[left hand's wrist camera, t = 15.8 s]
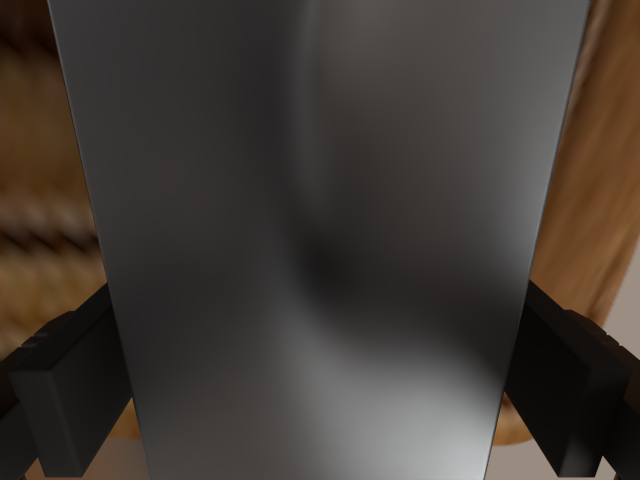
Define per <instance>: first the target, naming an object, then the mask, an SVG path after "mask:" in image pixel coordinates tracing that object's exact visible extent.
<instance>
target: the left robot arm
mask: <svg viewBox="0 0 640 480" xmlns="http://www.w3.org/2000/svg"><path fill="white" fill-rule="evenodd" d="M504 391H505V393H506V394H507V396H508V397H509V399H510V401H511V402H512V404H513V405H514V407H515V409H516V410H517V412H518V414H519V415H520V417H521V418H522V420H523V422H524V423H525V425H526V426H527V428H528V430H529V431H530V433H531V434H532V436H533V438H534V439H535V441H536V442H537V444H538V446H539V447H540V449H541V450H542V452H543V454H544V455H545V457H546V458H547V460H548V462H549V463H550V465H551V467H552V468H553V470H554V471H555V473H556V475H557V476H558V477H595V475H596V472H597V470H598V467H599V464H600V461H601V458H602V456H604V458H605V459H606V460H607V462H608V463H609V464H610V465H611V467H612V468H613V469H614V470H615V472H616V475H615V477H614V480H640V360H639V359H637V358H636V357H635V356H634V355H633V354H632V353H630V352H629V351H628V350H627V349H626V348H624V347H623V346H619V343H618V342H617V341H616V340H615V339H613V338H612V337H611V336H610V335H607V334H606V332H605V331H604V330H603V329H601V328H600V327H599V326H598V325H597V324H595V323H594V322H593V321H592V320H590V319H588V318H586V317H584V316H582V315H580V314H579V313H577V312H575V311H573V310H564V309H563V308H561V307H560V306H559V305H558V304H557V303H556V302H555V301H553V300H552V299H551V298H550V297H549V296H548V295H547V294H546V293H544V292H543V291H542V290H541V289H540V288H539V287H538V286H536V285H535V284H534V283H533V282H532V281H531V280H530V279H529V282H528V287H527V291H526V296H525V300H524V305H523V309H522V314H521V318H520V323H519V327H518V332H517V336H516V341H515V345H514V350H513V354H512V359H511V363H510V368H509V372H508V377H507V381H506V386H505V390H504ZM131 397H132V394H131V389H130V384H129V380H128V375H127V370H126V366H125V361H124V357H123V352H122V347H121V343H120V338H119V333H118V329H117V324H116V320H115V315H114V310H113V306H112V301H111V297H110V292H109V287H108V283H106V284H105V285H104V286H102V287H101V288H100V289H99V290H98V291H97V292H96V293H94V294H93V295H92V296H91V297H90V298H89V299H88V300H87V301H85V302H84V303H83V304H82V305H81V306H80V307H79V308H77V309H76V310H75V311H68V312H66V313H64V314H63V315H61V316H59V317H57V318H55V319H53V320H51V321H49V322H48V323H47V324H45V325H44V326H43V327H42V328H41V329H39V330H38V331H37V332H36V333H35V334H34V337H30V338H29V339H28V340H26V341H25V342H24V343H23V344H22V346H21V347H18V348H17V349H16V350H14V351H13V352H12V353H11V354H10V355H8V356H7V357H6V358H5V359H4V360H2V361H1V362H0V480H26V477H25V475H24V474H25V473H26V471H27V470H28V469H29V468H30V466H31V465H32V464H33V462H34V461H35V460H36V459H37V457H38V458H39V461H40V464H41V467H42V470H43V472H44V475H45V477H82V476H83V475H84V473H85V471H86V470H87V468H88V467H89V465H90V463H91V462H92V460H93V459H94V457H95V455H96V454H97V452H98V450H99V449H100V447H101V446H102V444H103V442H104V441H105V439H106V438H107V436H108V434H109V433H110V431H111V430H112V428H113V426H114V425H115V423H116V422H117V420H118V418H119V417H120V415H121V414H122V412H123V410H124V409H125V407H126V405H127V404H128V402H129V401H130V399H131Z"/></svg>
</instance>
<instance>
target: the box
mask: <svg viewBox="0 0 640 480" xmlns="http://www.w3.org/2000/svg"><path fill="white" fill-rule="evenodd" d="M46 1H47V6H48V10H49V15H50V19H51V24H52V29H53V33H54V38H55V43H56V47H57V52H58V56H59V61H60V66H61V70H62V75H63V79H64V84H65V89H66V93H67V98H68V103H69V107H70V112H71V116H72V121H73V126H74V130H75V135H76V140H77V144H78V149H79V153H80V158H81V163H82V167H83V172H84V176H85V181H86V186H87V190H88V195H89V200H90V204H91V209H92V213H93V218H94V223H95V227H96V232H97V236H98V241H99V246H100V250H101V255H102V260H103V264H104V269H105V273H106V278H107V283H108V287H109V292H110V297H111V301H112V306H113V310H114V315H115V320H116V324H117V329H118V333H119V338H120V343H121V347H122V352H123V357H124V361H125V366H126V370H127V375H128V380H129V384H130V389H131V394H132V398H133V403H134V407H135V412H136V417H137V421H138V426H139V430H140V435H141V440H142V444H143V449H144V453H145V458H146V463H147V467H148V472H149V476H150V480H485V475H486V471H487V466H488V462H489V458H490V453H491V448H492V444H493V440H494V435H495V431H496V426H497V422H498V417H499V413H500V408H501V404H502V399H503V395H504V390H505V386H506V381H507V377H508V372H509V368H510V363H511V359H512V354H513V350H514V345H515V341H516V336H517V332H518V327H519V323H520V318H521V314H522V309H523V305H524V300H525V296H526V291H527V287H528V282H529V278H530V273H531V269H532V264H533V260H534V255H535V251H536V246H537V242H538V237H539V233H540V228H541V224H542V219H543V215H544V210H545V206H546V201H547V197H548V192H549V188H550V183H551V179H552V174H553V170H554V165H555V161H556V156H557V152H558V148H559V143H560V139H561V134H562V130H563V125H564V121H565V116H566V112H567V107H568V103H569V98H570V94H571V89H572V85H573V80H574V76H575V71H576V67H577V62H578V58H579V53H580V49H581V44H582V40H583V35H584V31H585V26H586V22H587V17H588V13H589V8H590V4H591V0H46Z"/></svg>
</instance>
